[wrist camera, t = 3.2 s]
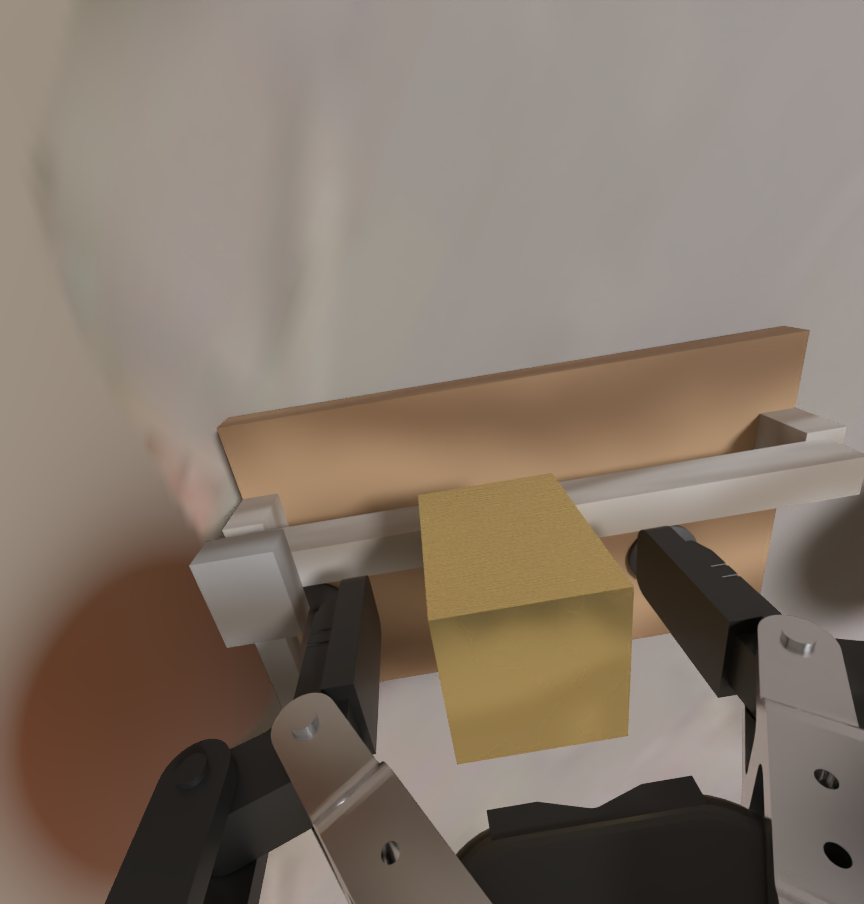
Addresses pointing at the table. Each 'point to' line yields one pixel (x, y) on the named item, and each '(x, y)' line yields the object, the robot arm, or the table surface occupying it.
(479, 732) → the sliding block
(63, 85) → the table surface
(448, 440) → the board
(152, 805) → the robot arm
